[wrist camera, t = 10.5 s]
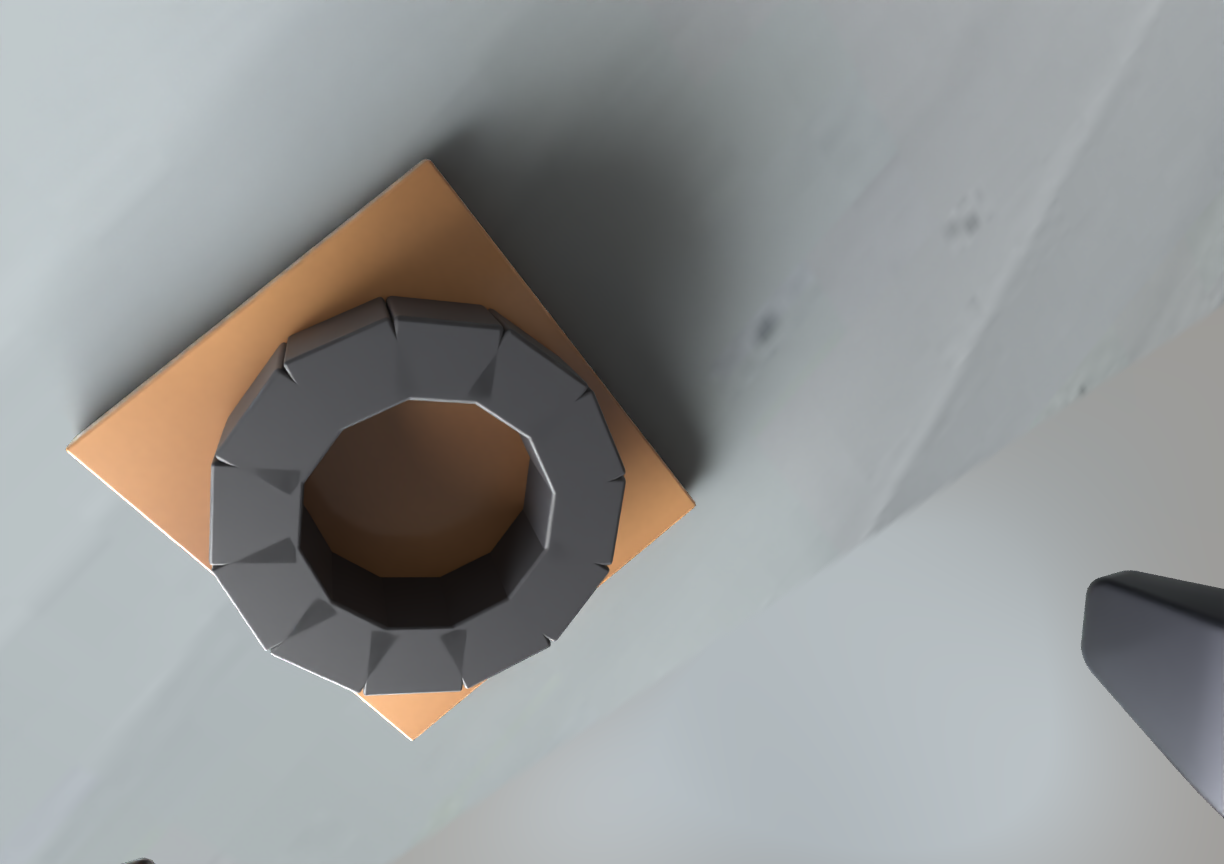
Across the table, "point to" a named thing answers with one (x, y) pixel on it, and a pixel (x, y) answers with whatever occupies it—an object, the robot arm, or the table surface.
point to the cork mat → (385, 443)
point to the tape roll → (411, 606)
